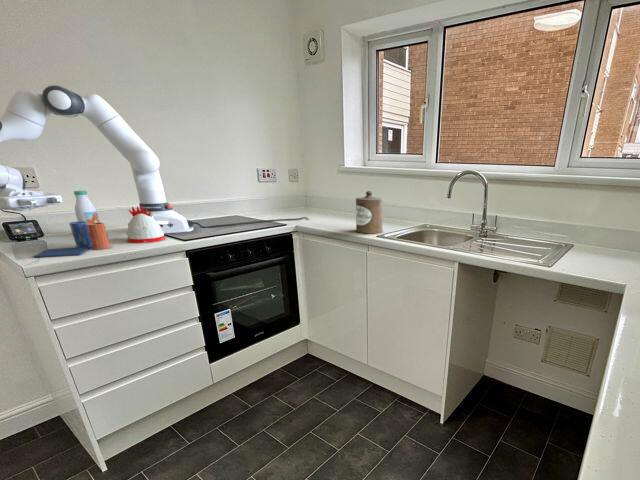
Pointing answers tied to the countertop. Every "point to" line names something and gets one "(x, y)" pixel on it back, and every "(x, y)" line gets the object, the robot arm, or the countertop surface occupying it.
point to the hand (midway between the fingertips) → (47, 201)
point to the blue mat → (62, 252)
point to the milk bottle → (85, 208)
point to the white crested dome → (143, 228)
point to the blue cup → (80, 234)
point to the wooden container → (369, 214)
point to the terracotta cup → (98, 235)
